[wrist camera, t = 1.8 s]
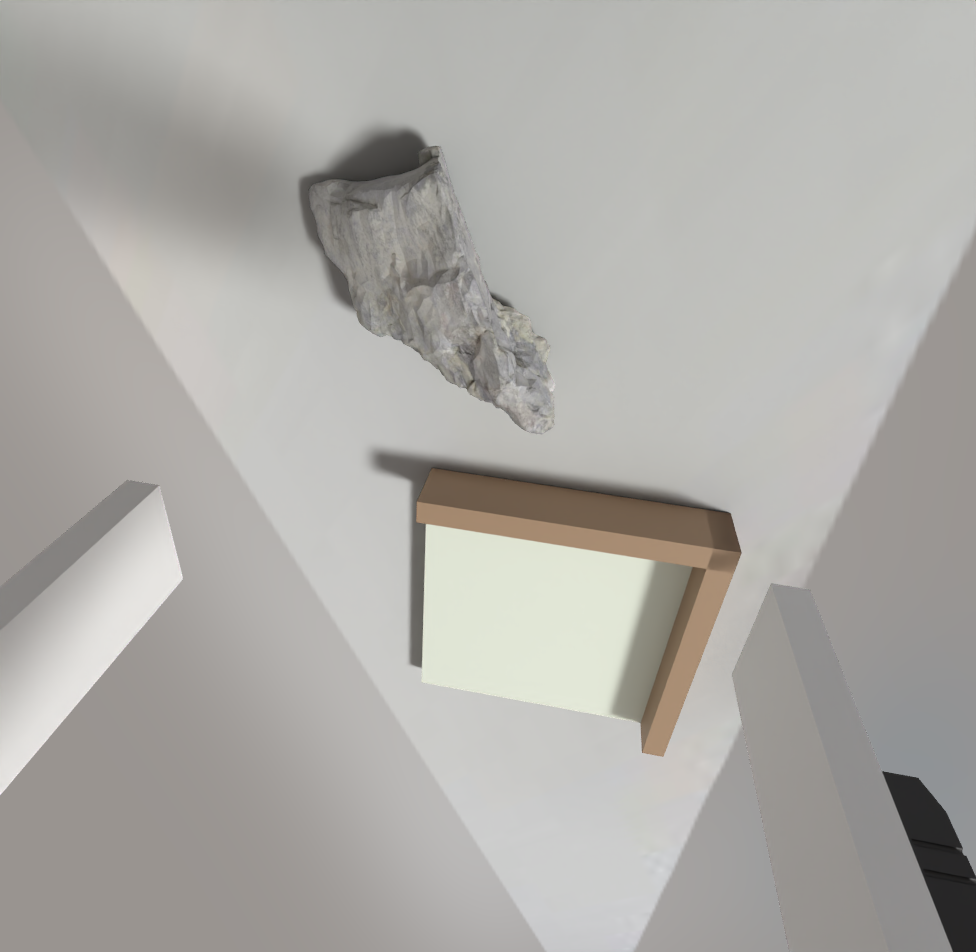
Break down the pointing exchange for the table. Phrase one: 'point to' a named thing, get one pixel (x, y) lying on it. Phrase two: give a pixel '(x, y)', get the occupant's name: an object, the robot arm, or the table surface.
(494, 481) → the corner
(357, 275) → the stone
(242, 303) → the table surface
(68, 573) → the robot arm
